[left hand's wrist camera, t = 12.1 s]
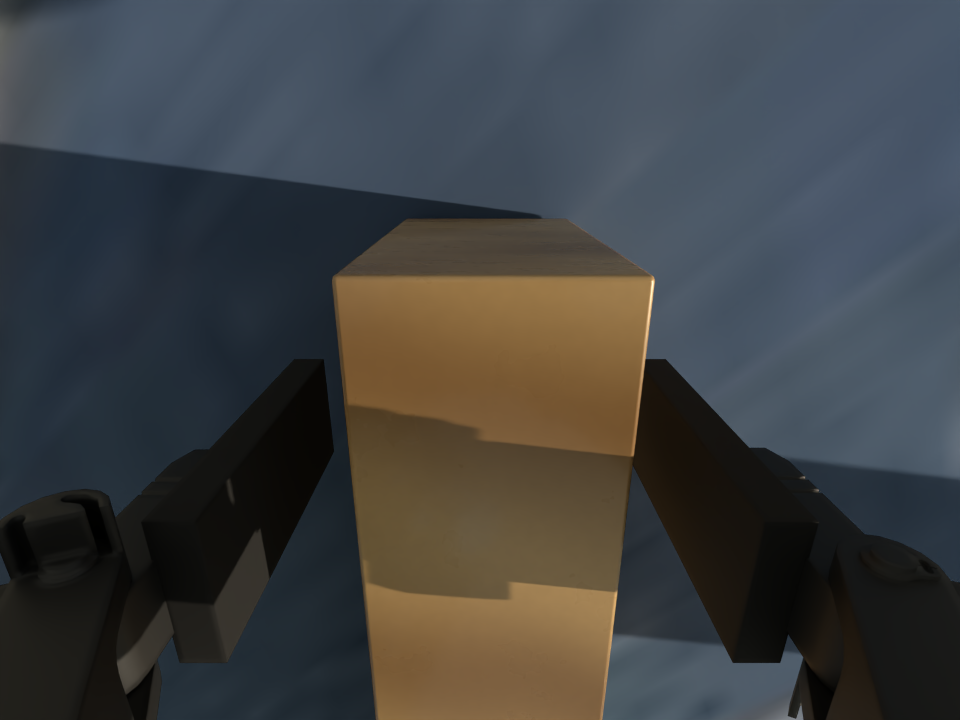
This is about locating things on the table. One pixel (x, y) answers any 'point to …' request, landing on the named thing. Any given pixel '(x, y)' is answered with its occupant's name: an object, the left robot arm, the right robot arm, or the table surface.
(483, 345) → the beam
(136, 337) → the table surface
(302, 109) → the table surface
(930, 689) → the left robot arm
